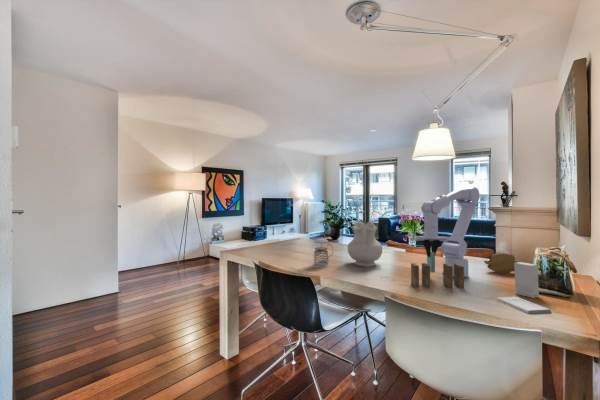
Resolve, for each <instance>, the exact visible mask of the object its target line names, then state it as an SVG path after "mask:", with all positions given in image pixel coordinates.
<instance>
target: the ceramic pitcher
mask: <svg viewBox="0 0 600 400" xmlns="http://www.w3.org/2000/svg"><path fill="white" fill-rule="evenodd" d="M374 223H375V222H373V221H370V220H368V221H367V222H360V221H357V222H356V223H355V224H354V225H352V226H351V229H352V231H353V233H354V234H353V235H354V237H353V239H352V240H351V241H350V242H348V244H347V252H348V255H349V256H350V259H352V260H353V261H355V263H353V264H354V265H356V266H358V267H367V268H368V267H369V268H370V267H374V266H376V261H378V260H379V259H380V258H381V257H382V254H383V245H382V244H381V242H379V241H378V240H377V239H376V233H377V232H376V231H377V230H378V226H376V225H375V224H374Z"/></svg>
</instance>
